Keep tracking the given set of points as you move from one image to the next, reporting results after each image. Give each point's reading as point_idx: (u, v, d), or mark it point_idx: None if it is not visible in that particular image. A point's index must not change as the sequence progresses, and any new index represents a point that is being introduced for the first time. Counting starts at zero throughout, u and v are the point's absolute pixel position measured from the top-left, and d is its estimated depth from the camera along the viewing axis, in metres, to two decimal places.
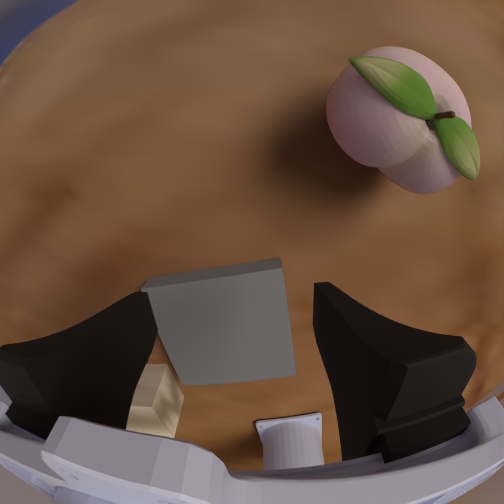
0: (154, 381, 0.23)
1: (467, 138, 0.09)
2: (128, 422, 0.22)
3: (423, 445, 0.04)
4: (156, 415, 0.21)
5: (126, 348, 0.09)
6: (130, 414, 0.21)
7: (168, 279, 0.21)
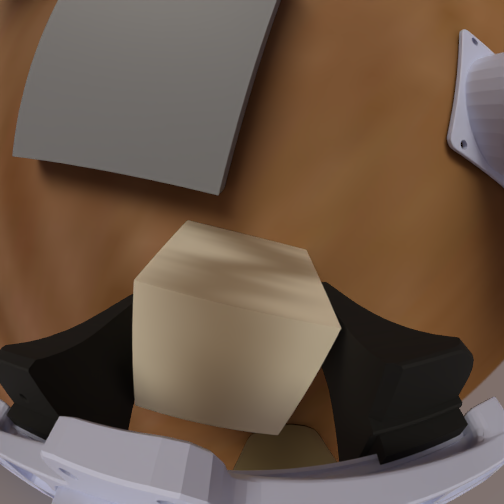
0: None
1: None
2: (222, 408, 0.08)
3: (419, 447, 0.04)
4: (184, 299, 0.07)
5: (128, 348, 0.09)
6: (179, 378, 0.08)
7: None
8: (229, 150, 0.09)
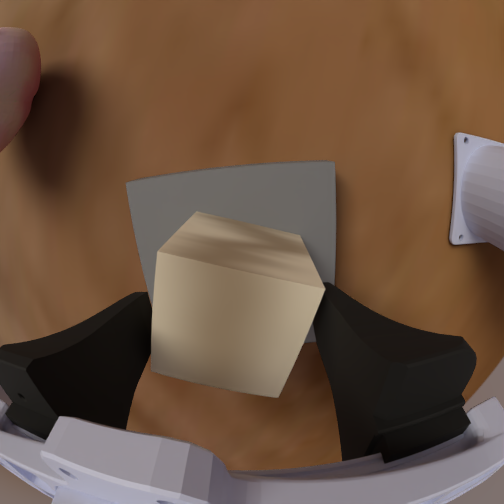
0: None
1: None
2: (228, 368, 0.10)
3: (423, 445, 0.04)
4: (197, 265, 0.09)
5: (126, 348, 0.09)
6: (191, 338, 0.10)
7: None
8: None
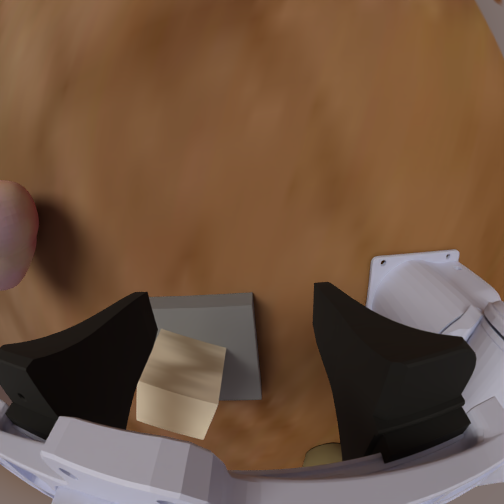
0: None
1: None
2: (175, 424, 0.17)
3: (423, 445, 0.04)
4: (156, 388, 0.16)
5: (126, 348, 0.09)
6: (156, 411, 0.17)
7: None
8: (260, 388, 0.23)
